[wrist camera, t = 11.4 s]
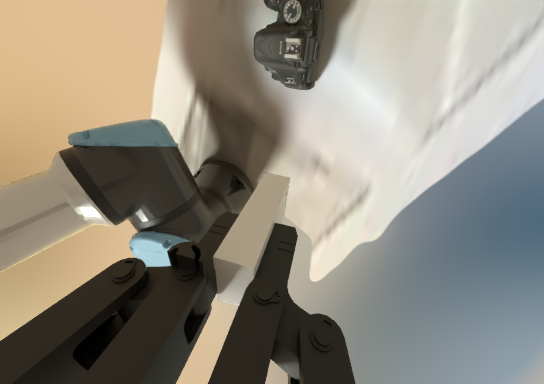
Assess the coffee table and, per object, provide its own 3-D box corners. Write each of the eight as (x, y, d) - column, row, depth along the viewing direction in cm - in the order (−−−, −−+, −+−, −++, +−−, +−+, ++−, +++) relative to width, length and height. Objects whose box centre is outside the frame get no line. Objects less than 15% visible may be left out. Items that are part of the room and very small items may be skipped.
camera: (255, 6, 32) (227, -11, 24) (320, -29, 28) (313, -65, 20) (281, 97, 38) (266, 108, 30) (338, 77, 34) (339, 83, 26)
